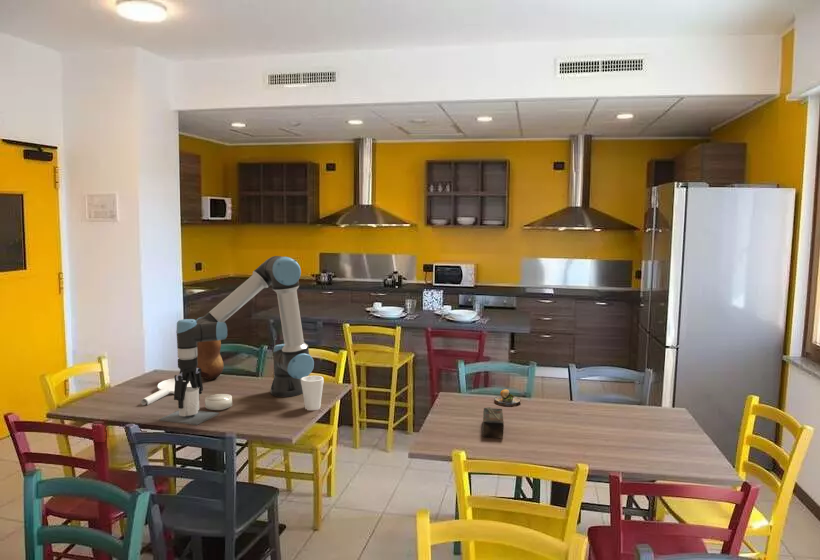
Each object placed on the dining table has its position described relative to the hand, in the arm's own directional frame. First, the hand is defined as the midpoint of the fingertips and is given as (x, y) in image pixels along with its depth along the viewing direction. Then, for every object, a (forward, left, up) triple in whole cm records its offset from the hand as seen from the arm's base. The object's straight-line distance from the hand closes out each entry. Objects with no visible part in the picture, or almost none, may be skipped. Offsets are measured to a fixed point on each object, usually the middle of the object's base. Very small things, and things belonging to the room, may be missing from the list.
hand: (189, 412), depth 242 cm
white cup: (0, 0, 0) cm, 0 cm away
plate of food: (-120, -61, -2) cm, 135 cm away
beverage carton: (-120, -24, -2) cm, 123 cm away
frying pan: (+31, -25, -3) cm, 39 cm away
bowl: (-4, -14, -2) cm, 15 cm away
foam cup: (-42, -26, -2) cm, 50 cm away
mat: (0, 0, -2) cm, 2 cm away
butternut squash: (+30, -54, -2) cm, 62 cm away
